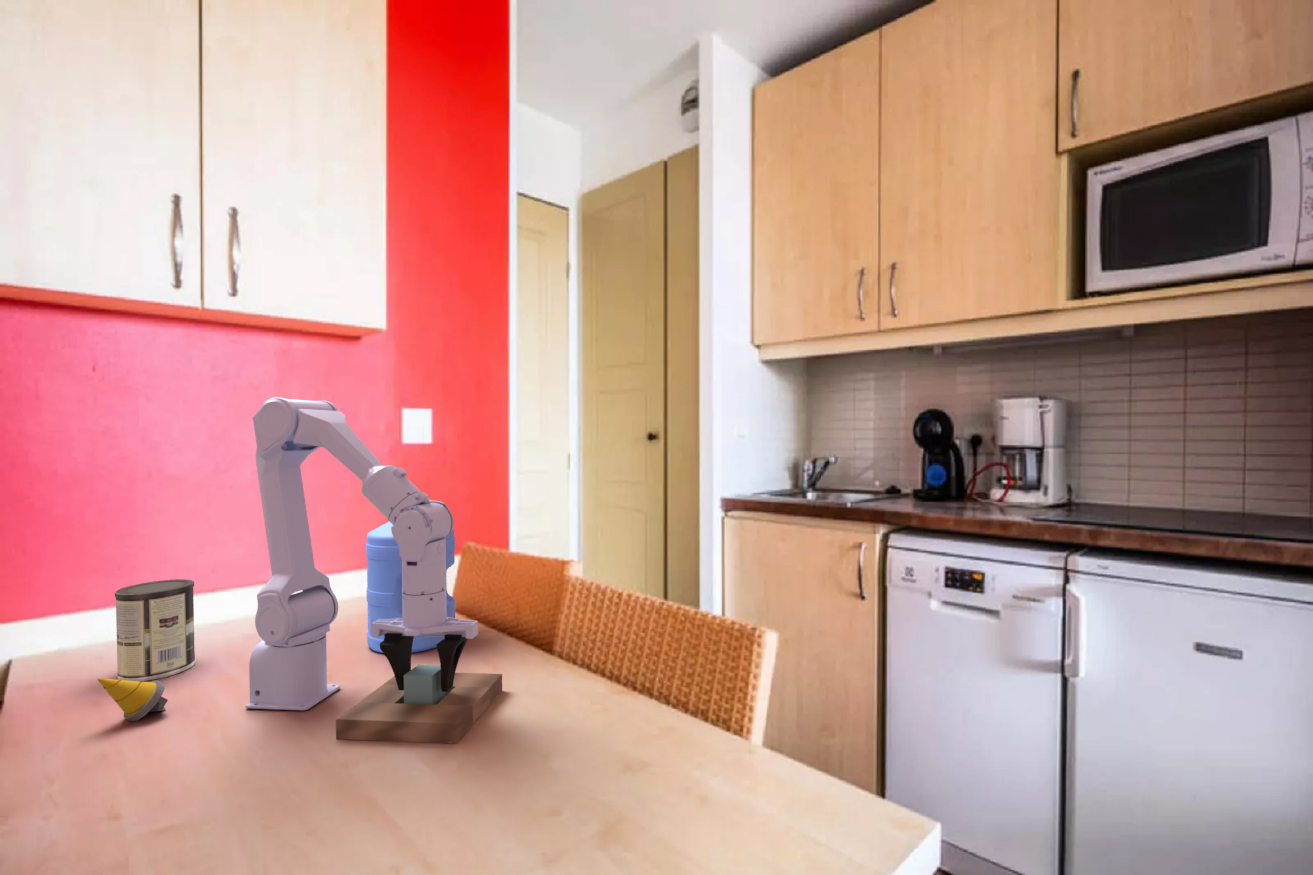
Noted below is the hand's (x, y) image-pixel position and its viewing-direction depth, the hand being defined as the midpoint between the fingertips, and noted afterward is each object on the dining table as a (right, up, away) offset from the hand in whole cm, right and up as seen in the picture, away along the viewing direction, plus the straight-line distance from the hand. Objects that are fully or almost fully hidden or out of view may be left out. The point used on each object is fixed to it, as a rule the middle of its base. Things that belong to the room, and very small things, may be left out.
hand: (425, 688), depth 85 cm
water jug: (-14, -4, +31) cm, 34 cm away
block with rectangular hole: (0, -3, 0) cm, 3 cm away
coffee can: (-51, -4, +17) cm, 54 cm away
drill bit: (-39, -4, -1) cm, 39 cm away
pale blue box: (0, -4, 0) cm, 4 cm away
